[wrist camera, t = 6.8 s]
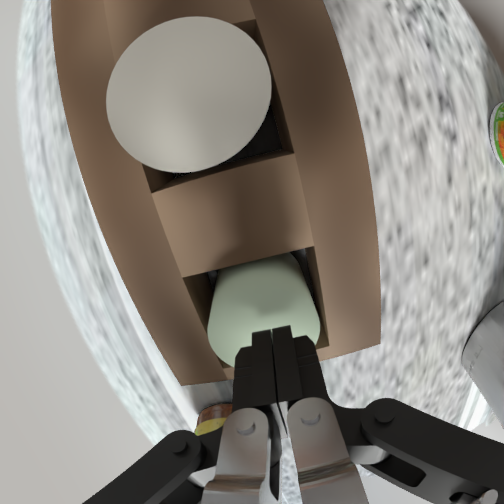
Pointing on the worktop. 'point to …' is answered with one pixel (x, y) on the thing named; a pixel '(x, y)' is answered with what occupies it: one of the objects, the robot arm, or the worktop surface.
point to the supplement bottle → (498, 132)
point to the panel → (229, 179)
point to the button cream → (188, 94)
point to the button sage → (259, 304)
